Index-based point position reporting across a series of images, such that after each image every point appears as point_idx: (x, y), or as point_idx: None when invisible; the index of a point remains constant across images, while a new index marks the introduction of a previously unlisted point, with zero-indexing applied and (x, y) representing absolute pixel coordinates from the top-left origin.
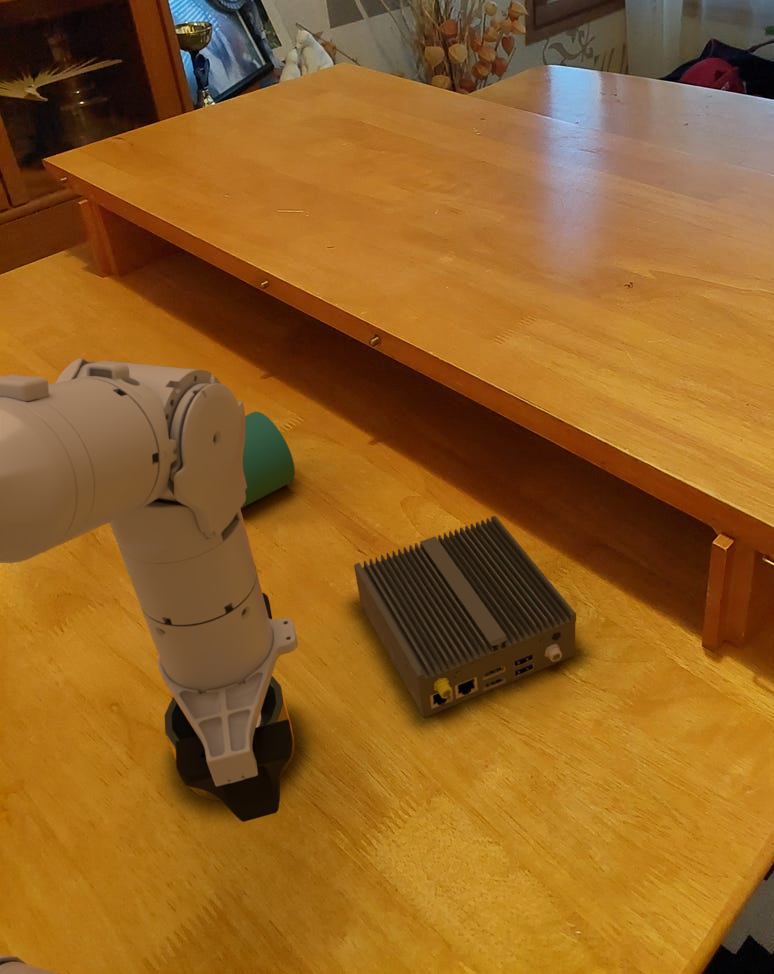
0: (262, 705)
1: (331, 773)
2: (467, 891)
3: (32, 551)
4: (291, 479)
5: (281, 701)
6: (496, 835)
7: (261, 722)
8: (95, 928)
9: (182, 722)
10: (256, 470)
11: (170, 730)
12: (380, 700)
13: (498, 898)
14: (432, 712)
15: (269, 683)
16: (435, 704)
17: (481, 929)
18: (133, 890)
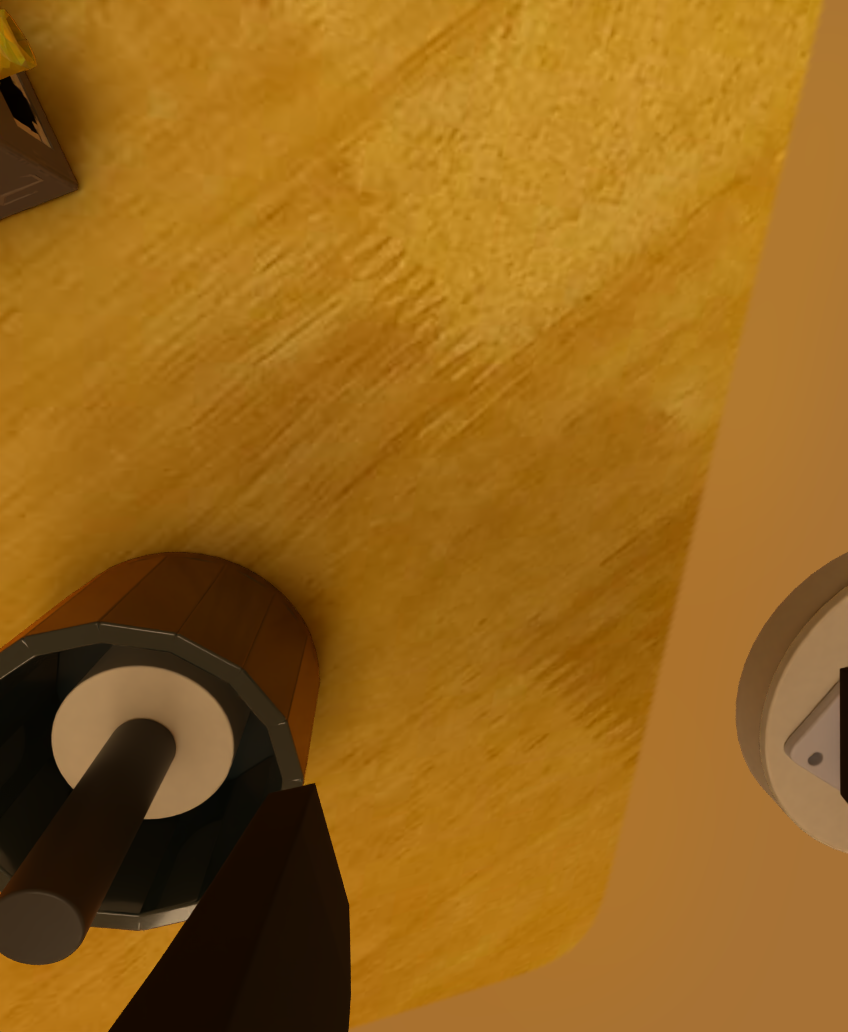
0: (314, 793)
1: (258, 456)
2: (625, 118)
3: None
4: None
5: (94, 628)
6: (491, 9)
7: (143, 660)
8: (554, 851)
9: (134, 850)
10: None
11: None
12: (9, 323)
13: (659, 35)
14: (60, 154)
15: (12, 672)
16: (37, 129)
17: (721, 94)
18: (494, 811)
